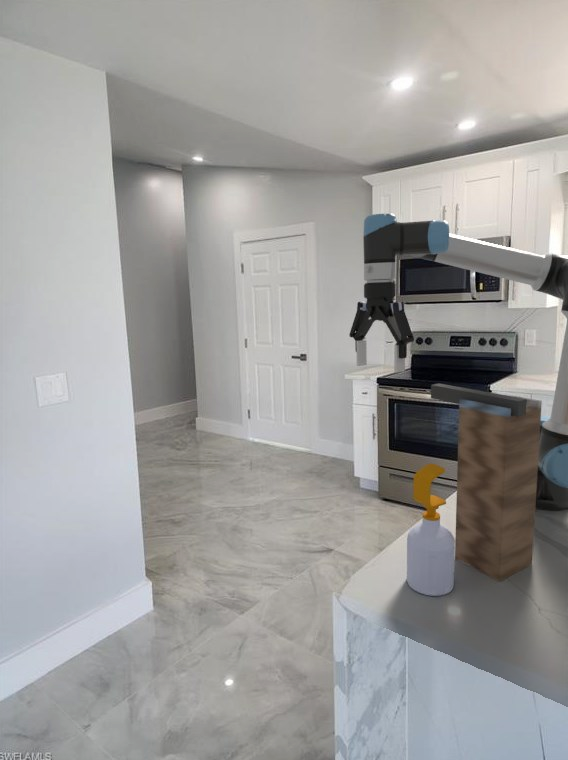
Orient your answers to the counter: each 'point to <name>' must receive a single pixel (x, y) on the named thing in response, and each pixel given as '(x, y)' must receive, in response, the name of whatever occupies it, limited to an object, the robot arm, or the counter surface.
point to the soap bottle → (430, 541)
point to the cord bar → (478, 397)
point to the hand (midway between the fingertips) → (379, 368)
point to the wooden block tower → (496, 486)
